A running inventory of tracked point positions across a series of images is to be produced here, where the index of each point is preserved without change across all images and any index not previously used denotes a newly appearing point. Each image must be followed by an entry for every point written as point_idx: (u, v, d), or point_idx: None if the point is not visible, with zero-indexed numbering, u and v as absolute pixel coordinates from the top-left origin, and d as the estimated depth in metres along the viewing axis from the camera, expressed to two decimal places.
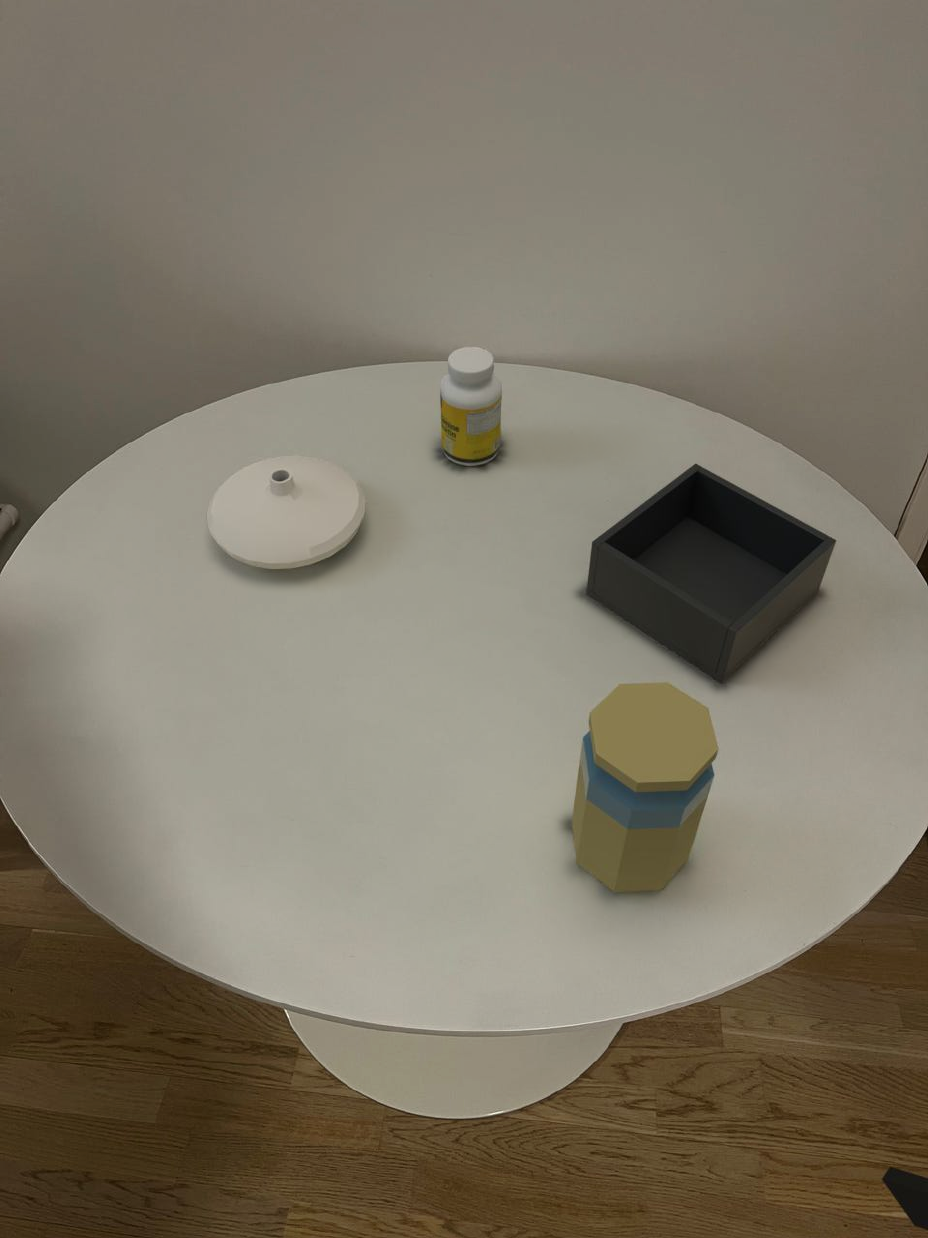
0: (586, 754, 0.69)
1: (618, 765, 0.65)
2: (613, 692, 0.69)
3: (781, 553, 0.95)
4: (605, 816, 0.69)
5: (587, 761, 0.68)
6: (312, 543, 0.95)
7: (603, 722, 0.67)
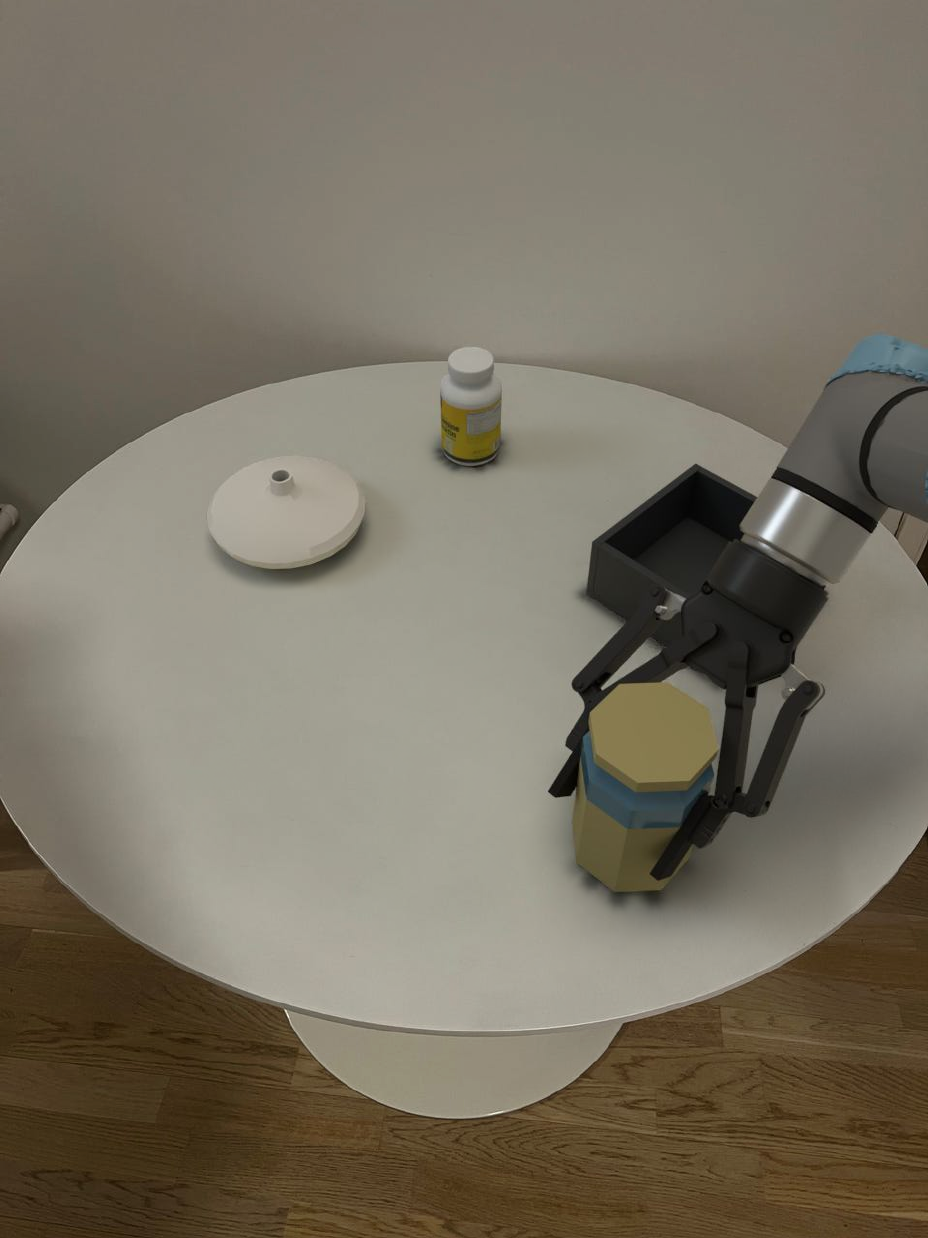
0: (586, 754, 0.69)
1: (618, 765, 0.65)
2: (613, 692, 0.69)
3: None
4: (605, 816, 0.69)
5: (587, 761, 0.68)
6: (312, 543, 0.95)
7: (603, 722, 0.67)
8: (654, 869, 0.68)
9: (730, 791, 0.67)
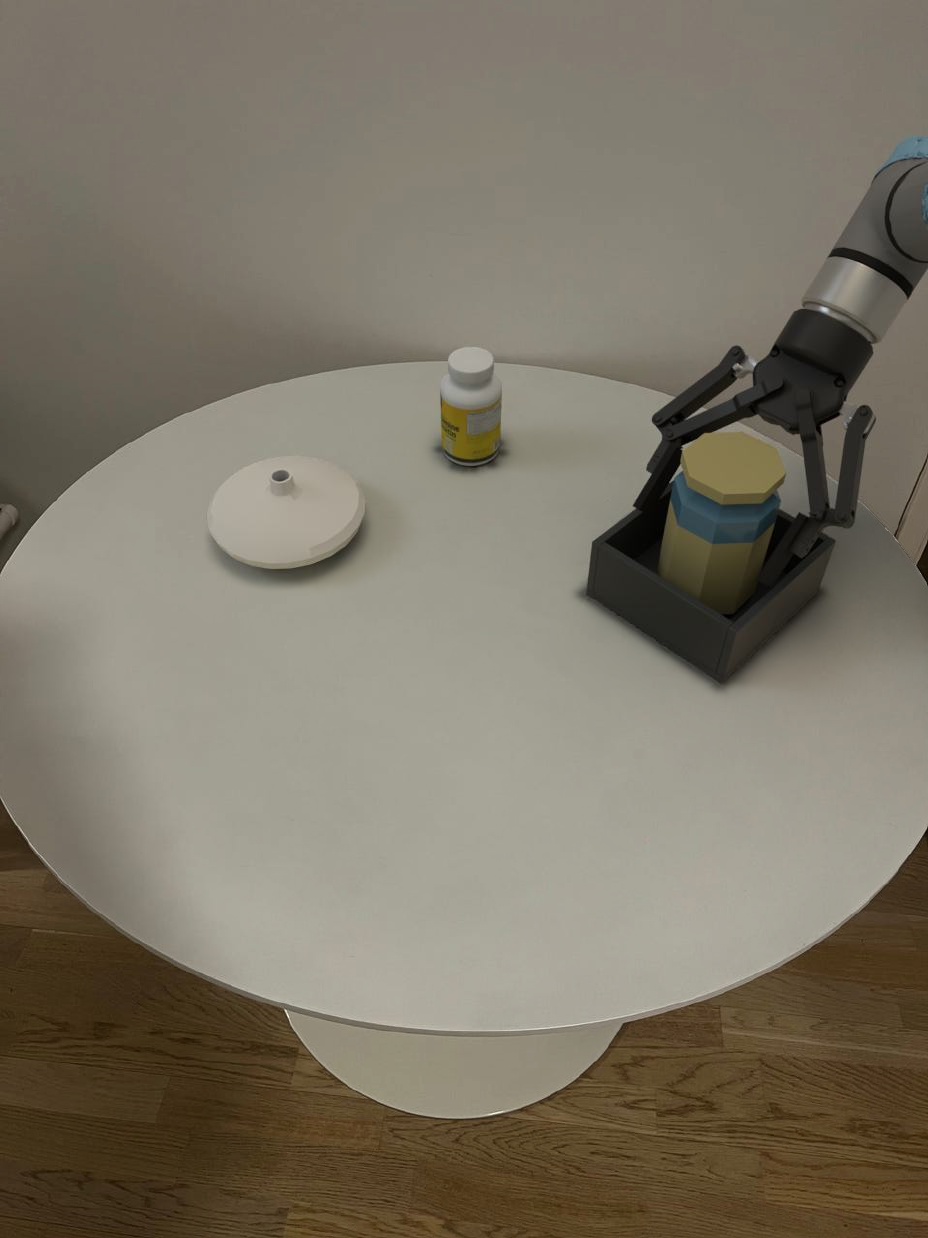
0: (678, 488, 0.86)
1: (708, 483, 0.82)
2: (700, 438, 0.86)
3: None
4: (693, 537, 0.86)
5: (679, 492, 0.86)
6: (312, 543, 0.95)
7: (693, 456, 0.84)
8: (760, 574, 0.84)
9: (822, 503, 0.83)
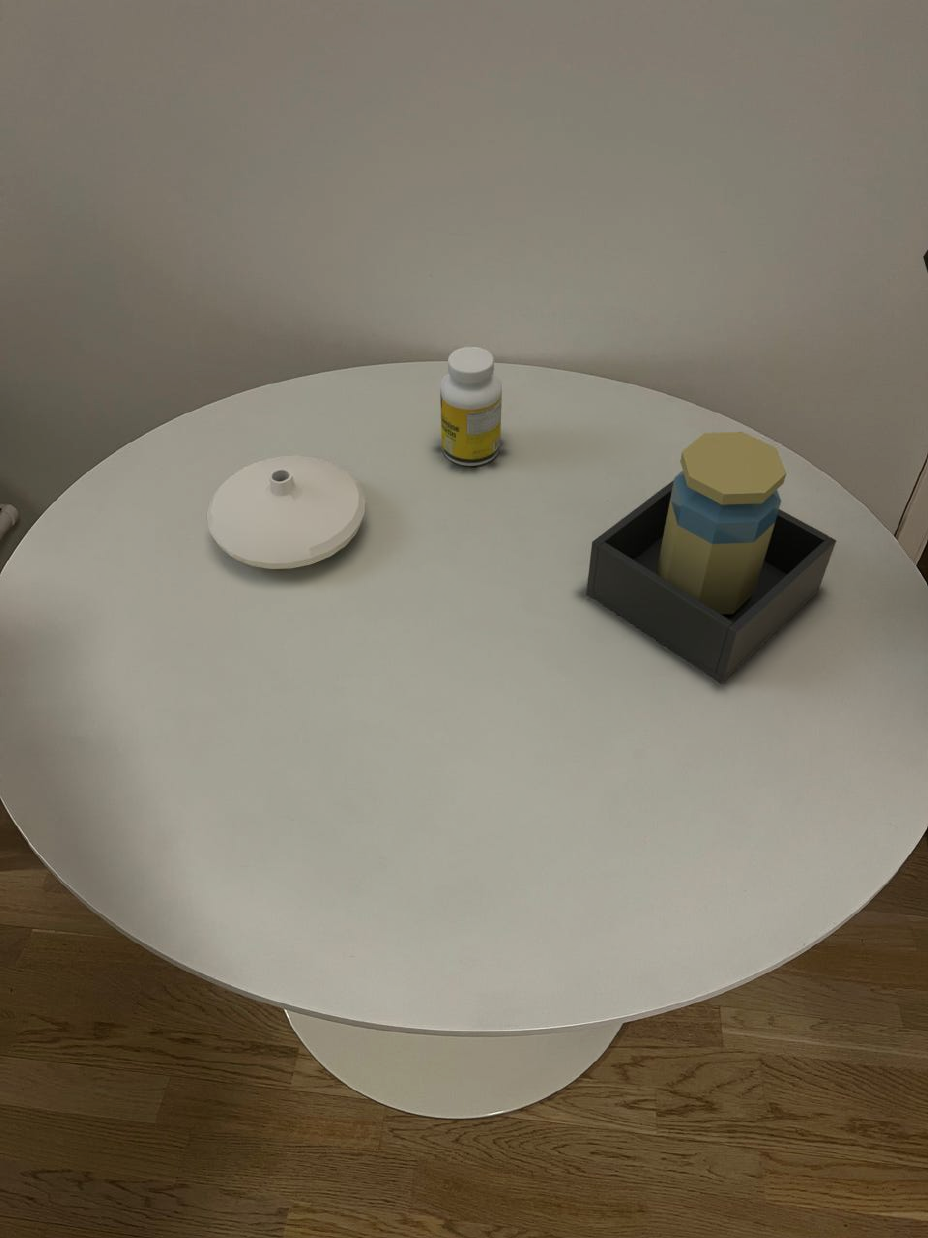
0: (678, 488, 0.86)
1: (708, 483, 0.82)
2: (700, 438, 0.86)
3: (781, 553, 0.95)
4: (693, 537, 0.86)
5: (679, 492, 0.86)
6: (312, 543, 0.95)
7: (693, 456, 0.84)
8: None
9: None
